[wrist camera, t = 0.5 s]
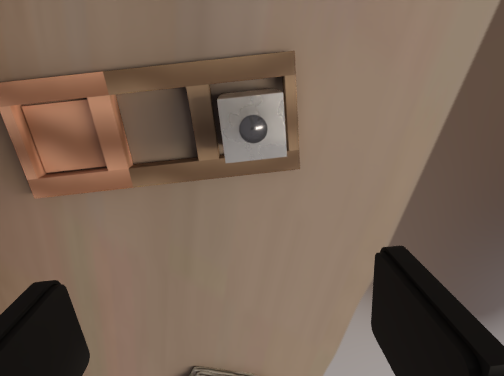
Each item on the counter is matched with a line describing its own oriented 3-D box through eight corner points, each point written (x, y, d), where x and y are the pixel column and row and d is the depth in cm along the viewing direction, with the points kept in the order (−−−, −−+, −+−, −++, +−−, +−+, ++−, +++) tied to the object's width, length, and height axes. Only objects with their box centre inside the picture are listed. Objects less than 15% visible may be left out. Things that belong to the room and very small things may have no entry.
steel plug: (221, 93, 29) (216, 99, 22) (272, 87, 29) (283, 92, 22) (228, 144, 31) (225, 163, 24) (276, 138, 31) (287, 156, 24)
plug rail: (1, 83, 28) (-12, 83, 26) (291, 51, 28) (294, 50, 26) (43, 192, 32) (34, 198, 30) (297, 164, 32) (300, 169, 30)
